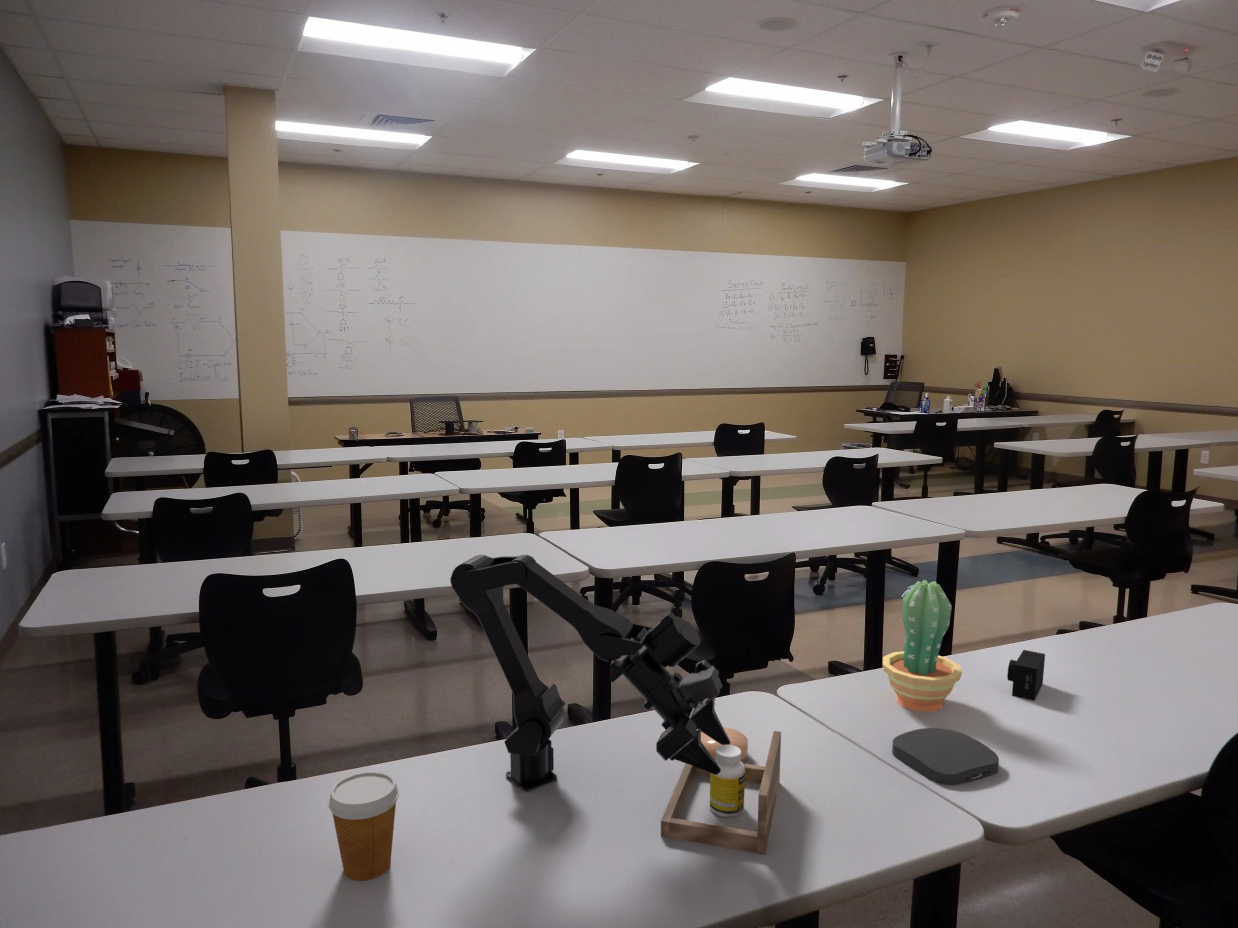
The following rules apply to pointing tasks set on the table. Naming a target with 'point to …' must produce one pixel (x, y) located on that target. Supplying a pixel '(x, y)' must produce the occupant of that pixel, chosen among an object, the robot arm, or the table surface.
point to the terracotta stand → (735, 740)
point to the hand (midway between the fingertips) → (723, 758)
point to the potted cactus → (923, 650)
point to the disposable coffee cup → (364, 822)
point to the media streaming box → (945, 755)
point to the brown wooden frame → (721, 834)
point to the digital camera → (1027, 674)
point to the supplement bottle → (728, 782)
